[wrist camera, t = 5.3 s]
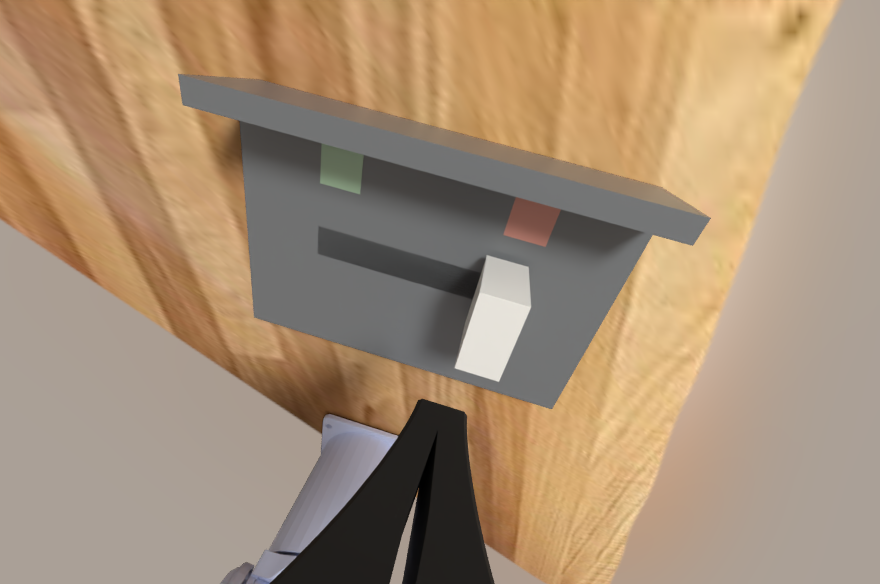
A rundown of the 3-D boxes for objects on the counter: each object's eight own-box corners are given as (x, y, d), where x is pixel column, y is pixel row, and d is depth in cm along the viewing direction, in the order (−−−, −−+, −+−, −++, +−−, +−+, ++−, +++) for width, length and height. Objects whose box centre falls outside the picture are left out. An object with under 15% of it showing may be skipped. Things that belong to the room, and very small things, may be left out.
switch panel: (549, 390, 22) (556, 453, 18) (268, 304, 23) (218, 346, 19) (661, 187, 15) (710, 218, 11) (258, 79, 16) (178, 73, 12)
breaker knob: (502, 333, 18) (498, 381, 15) (465, 322, 18) (454, 368, 15) (528, 266, 16) (531, 307, 13) (486, 254, 16) (479, 292, 13)
